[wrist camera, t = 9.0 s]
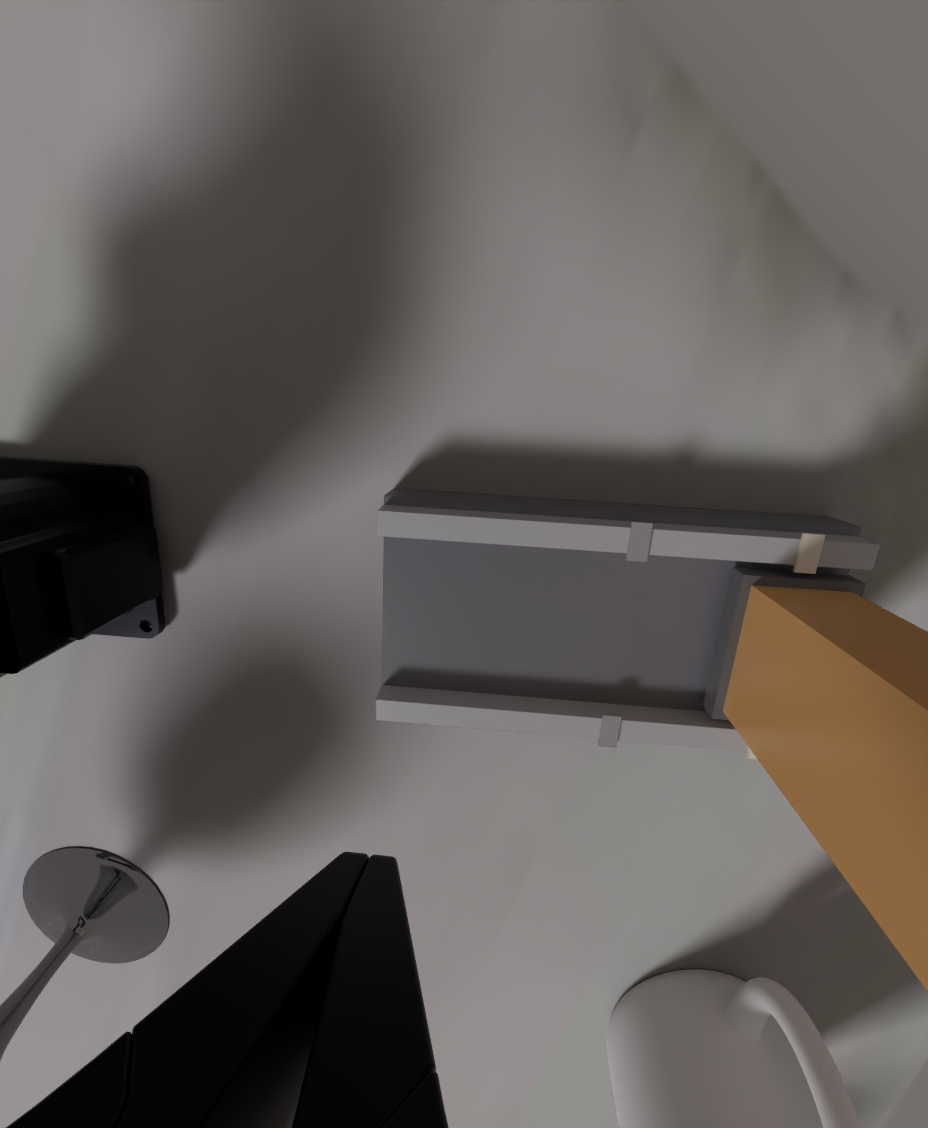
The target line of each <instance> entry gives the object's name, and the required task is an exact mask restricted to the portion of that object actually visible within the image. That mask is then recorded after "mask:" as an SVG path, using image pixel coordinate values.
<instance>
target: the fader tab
mask: <svg viewBox="0 0 928 1128" xmlns="http://www.w3.org/2000/svg"><path fill="white" fill-rule="evenodd" d="M864 588H865V583H863V582H861V581H859V580H857V579H855V578H853V577H851V576H849V575H835V574H821V573H816V574H810V573H796V572H793V571H778V570H764V569H750V568H735V567H732V570H731V575H730V580H729V585H728V589H727V594H726V599H725V603H724V608H723V613H722V617H721V622H720V627H719V631H718V636H717V641H716V646H715V650H714V655H713V660H712V664H711V669H710V674H709V678H708V683H707V688H706V692H705V697H704V702H703V707H704V708H705V710H706V711H707V712H708V714H709V715H710V717H711V718H712V719H722V720H729V721H730V722H731V723H732V725H733V726H734V728H735V729H736V730H737V732H738V733H739V734H740V736H741V737H742V738H743V740H744V741H745V743H746V744H747V745H748V747H749V748H750V749H751V751H752V752H753V754H754V755H755V756H756V758H757V759H758V760H759V762H760V763H761V764H762V766H763V767H764V769H765V770H766V771H767V773H768V774H769V775H770V777H771V778H772V779H773V781H774V782H775V784H776V785H777V786H778V788H779V789H780V790H781V792H782V793H783V795H784V796H785V797H786V799H787V800H788V801H789V803H790V804H791V805H792V807H793V808H794V810H795V811H796V812H797V814H798V815H799V816H800V818H801V819H802V820H803V822H804V823H805V825H806V826H807V827H808V829H809V830H810V831H811V833H812V834H813V836H814V837H815V838H816V840H817V841H818V842H819V844H820V845H821V846H822V848H823V849H824V851H825V852H826V853H827V855H828V856H829V857H830V859H831V860H832V861H833V863H834V864H835V866H836V867H837V868H838V870H839V871H840V872H841V874H842V875H843V877H844V878H845V879H846V881H847V882H848V883H849V885H850V886H851V887H852V889H853V890H854V892H855V893H856V894H857V896H858V897H859V898H860V900H861V901H862V902H863V904H864V905H865V907H866V908H867V909H868V911H869V912H870V913H871V915H872V916H873V918H874V919H875V920H876V922H877V923H878V924H879V926H880V927H881V928H882V930H883V931H884V933H885V934H886V935H887V937H888V938H889V939H890V941H891V942H892V943H893V945H894V946H895V948H896V949H897V950H898V952H899V953H900V954H901V956H902V957H903V958H904V960H905V961H906V963H907V964H908V965H909V967H910V968H911V969H912V971H913V972H914V974H915V975H916V976H917V978H918V979H919V980H920V982H921V983H922V984H923V986H924V987H925V989H926V990H927V991H928V632H927V631H925V630H923V629H921V628H919V627H917V626H915V625H914V624H912V623H910V622H908V621H906V620H904V619H902V618H900V617H898V616H897V615H895V614H893V613H891V612H889V611H887V610H885V609H883V608H881V607H880V606H878V605H876V604H874V603H872V602H870V601H868V600H866V599H864V598H862V595H863V591H864Z"/></svg>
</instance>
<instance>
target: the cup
mask: <svg viewBox="0 0 928 1128" xmlns="http://www.w3.org/2000/svg"><path fill="white" fill-rule="evenodd" d="M607 1053H608V1061H609V1068H610V1075H611V1081H612V1087H613V1093H614V1099H615V1105H616V1111H617V1117H618V1123H619V1128H861V1125H860V1122H859V1119H858V1117H857V1114H856V1112H855V1109H854V1106H853V1104H852V1101H851V1099H850V1097H849V1094H848V1092H847V1089H846V1087H845V1085H844V1082H843V1080H842V1078H841V1076H840V1073H839V1071H838V1069H837V1067H836V1065H835V1063H834V1061H833V1058H832V1056H831V1054H830V1052H829V1050H828V1048H827V1046H826V1045H825V1043H824V1041H823V1039H822V1037H821V1035H820V1033H819V1032H818V1030H817V1028H816V1026H815V1025H814V1023H813V1021H812V1020H811V1018H810V1017H809V1015H808V1014H807V1012H806V1011H805V1009H804V1008H803V1007H802V1005H801V1004H800V1003H799V1002H798V1000H797V999H796V998H795V997H794V996H793V995H792V994H791V993H790V992H789V991H788V990H787V989H786V988H785V987H784V986H782V985H781V984H779V983H777V982H775V981H773V980H771V979H768V978H762V977H761V978H753V979H750V980H749V981H747V982H745V981H743V980H741V979H739V978H737V977H734V976H732V975H729V974H725V973H721V972H717V971H711V970H702V969H688V970H677V971H672V972H667V973H663V974H660V975H657V976H654V977H651V978H649V979H647V980H645V981H643V982H641V983H639V984H638V985H636V986H635V987H633V988H632V989H631V990H629V991H628V992H627V993H626V994H625V995H624V996H623V997H622V998H621V1000H620V1001H619V1002H618V1004H617V1005H616V1007H615V1009H614V1011H613V1013H612V1015H611V1018H610V1021H609V1025H608V1031H607Z"/></svg>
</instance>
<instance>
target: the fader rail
mask: <svg viewBox="0 0 928 1128" xmlns="http://www.w3.org/2000/svg"><path fill="white" fill-rule="evenodd" d="M860 529H861V527H859V526H856V525H853V524H850V523H847V522H844V521H841V520H838V519H835V518H833V517H819V516H804V515H788V514H773V513H758V512H743V511H727V510H712V509H697V508H681V507H666V506H651V505H635V504H620V503H605V502H590V501H574V500H559V499H544V498H528V497H513V496H498V495H483V494H467V493H452V492H437V491H421V490H406V489H392V490H391V491H390V492H388V493H387V494H386V495H385V496H384V505H383V506H382V507H381V508H380V509H379V510H378V512H377V536H384V568H383V655H382V687H381V689H380V691H379V694H378V696H377V699H376V720H382V721H394V722H406V723H417V724H429V725H441V726H453V727H465V728H477V729H488V730H500V731H512V732H524V733H536V734H547V735H559V736H571V737H583V738H595V739H599V741H598V746H604V747H617V741H630V742H642V743H654V744H665V745H677V746H689V747H701V748H713V749H725V750H736V751H748V753H747V758H748V759H757V758H756V756H755V755H754V754H753V752H752V751H751V749H750V748H749V747H748V745H747V744H746V743H745V741H744V740H743V738H742V737H741V736H740V734H739V733H738V732H737V730H736V729H735V728H734V726H733V725H732V723H731V722H730V721H729V720H722V719H712V718H711V717H710V715H709V714H708V712H707V711H706V710H705V708H704V707H703V702H704V697H705V692H706V688H707V683H708V678H709V674H710V669H711V664H712V660H713V655H714V650H715V646H716V641H717V636H718V631H719V627H720V622H721V617H722V613H723V608H724V603H725V599H726V594H727V589H728V585H729V580H730V575H731V570H732V567H735V568H750V569H764V570H778V571H793V572H796V573H810V574H816V573H821V574H835V575H848V572H849V569H860V570H873V569H874V565H875V562H876V558H877V555H878V552H879V548H880V544H878V543H875V542H872V541H869V540H867V539H864V538H861V537H859V533H860ZM757 760H758V759H757Z"/></svg>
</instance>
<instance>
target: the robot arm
mask: <svg viewBox="0 0 928 1128" xmlns="http://www.w3.org/2000/svg"><path fill="white" fill-rule="evenodd" d="M128 475H130V476H131V477H133V479H134V486H132V485H131V484H130V483H129V481H128ZM162 591H163V585H162V577H161V568H160V560H159V551H158V543H157V534H156V529H155V527H154V524H153V516H152V507H151V499H150V491H149V482H148V478H147V475H146V474H145V472H144V471H143V470H142V469H141V468H139V467H137V466H133V465H117V464H102V463H87V462H71V461H56V460H40V459H25V458H9V457H0V677H2V676H4V675H6V674H14V673H18V672H20V671H22V670H23V669H25V668H27V667H29V666H31V665H32V664H34V663H36V662H38V661H40V660H41V659H43V658H45V657H47V656H49V655H50V654H52V653H54V652H56V651H57V650H59V649H61V648H63V647H65V646H66V645H68V644H70V643H72V642H74V641H75V640H81V639H84V638H85V637H87V636H89V635H91V634H99V635H111V636H124V637H137V638H153V637H155V636H156V635H158V634H159V633H161V632H162V631H163V630H164V628H165V617H164V609H163V600H162ZM146 620H147V621H149V622H150V623H151V624H152V626H153V628H151V627H149V626H148V625H147V623H146ZM6 1128H448V1123H447V1119H446V1114H445V1110H444V1105H443V1099H442V1094H441V1089H440V1083H439V1078H438V1074H437V1073H436V1066H435V1060H434V1055H433V1050H432V1045H431V1039H430V1034H429V1029H428V1023H427V1018H426V1013H425V1008H424V1002H423V997H422V992H421V986H420V981H419V976H418V971H417V965H416V960H415V955H414V949H413V944H412V939H411V934H410V928H409V923H408V918H407V912H406V907H405V902H404V897H403V891H402V886H401V881H400V875H399V870H398V865H397V860H396V858H394V857H391V856H382V855H372V856H371V857H370V858H369V856H368V855H367V854H363V853H354V852H344V853H342V854H340V855H339V856H338V857H337V858H335V859H334V860H333V861H332V862H331V863H329V864H328V865H327V866H326V867H325V868H323V869H322V870H321V871H320V872H319V873H317V874H316V875H315V876H314V877H313V878H311V879H310V880H309V881H308V882H307V883H305V884H304V885H303V886H302V887H301V888H299V889H298V890H297V891H296V892H295V893H293V894H292V895H291V896H290V897H289V898H287V899H286V900H285V901H284V902H283V903H281V904H280V905H279V906H278V907H277V908H275V909H274V910H273V911H272V912H271V913H269V914H268V915H267V916H266V917H265V918H263V919H262V920H261V921H260V922H259V923H257V924H256V925H255V926H254V927H253V928H251V929H250V930H249V931H248V932H247V933H245V934H244V935H243V936H242V937H241V938H240V939H238V940H237V941H236V942H235V943H234V944H232V945H231V946H230V947H229V948H228V949H226V950H225V951H224V952H223V953H222V954H220V955H219V956H218V957H217V958H216V959H214V960H213V961H212V962H211V963H210V964H208V965H207V966H206V967H205V968H204V969H202V970H201V971H200V972H199V973H198V974H196V975H195V976H194V977H193V978H192V979H190V980H189V981H188V982H187V983H186V984H184V985H183V986H182V987H181V988H180V989H178V990H177V991H176V992H175V993H174V994H172V995H171V996H170V997H169V998H168V999H166V1000H165V1001H164V1002H163V1003H162V1004H160V1005H159V1006H158V1007H157V1008H156V1009H154V1010H153V1011H152V1012H151V1013H150V1014H148V1015H147V1016H146V1017H145V1018H144V1019H143V1020H141V1021H140V1022H139V1023H138V1024H137V1025H135V1026H134V1028H133V1030H132V1034H131V1032H126V1033H124V1034H123V1035H122V1036H121V1037H119V1038H118V1039H117V1040H116V1041H115V1042H113V1043H112V1044H111V1045H110V1046H109V1047H107V1048H106V1049H105V1050H104V1051H103V1052H101V1053H100V1054H99V1055H98V1056H97V1057H95V1058H94V1059H93V1060H92V1061H90V1062H89V1063H88V1064H87V1065H85V1066H84V1067H83V1068H82V1069H80V1070H79V1071H78V1072H77V1073H76V1074H74V1075H73V1076H72V1077H71V1078H69V1079H68V1080H67V1081H66V1082H64V1083H63V1084H62V1085H61V1086H59V1087H58V1088H57V1089H56V1090H54V1091H53V1092H52V1093H51V1094H49V1095H48V1096H47V1097H46V1098H44V1099H43V1100H42V1101H41V1102H39V1103H38V1104H37V1105H36V1106H34V1107H33V1108H32V1109H30V1110H29V1111H28V1112H26V1113H25V1114H24V1115H22V1116H21V1117H20V1118H18V1119H17V1120H16V1121H14V1122H13V1123H12V1124H10V1125H9V1126H8V1127H6Z"/></svg>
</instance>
